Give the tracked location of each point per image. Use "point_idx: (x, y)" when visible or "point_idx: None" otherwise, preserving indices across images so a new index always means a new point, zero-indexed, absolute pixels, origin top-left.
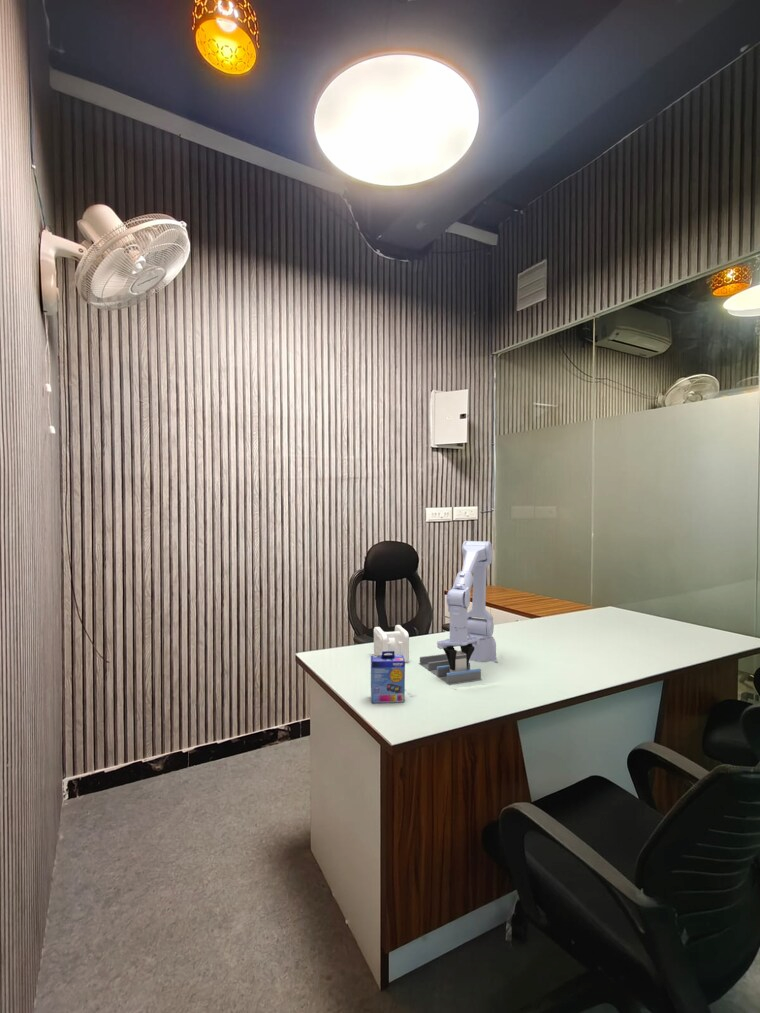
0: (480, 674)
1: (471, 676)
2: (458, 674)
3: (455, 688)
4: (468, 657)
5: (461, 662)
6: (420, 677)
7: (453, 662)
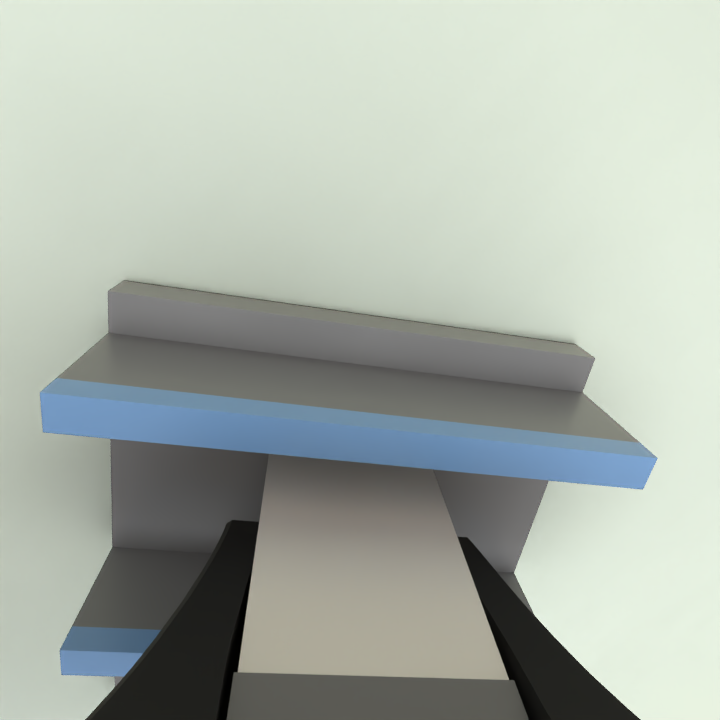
0: (88, 356)
1: (255, 371)
2: (474, 424)
3: (524, 312)
4: (189, 673)
5: (362, 605)
6: (573, 644)
7: (538, 629)
